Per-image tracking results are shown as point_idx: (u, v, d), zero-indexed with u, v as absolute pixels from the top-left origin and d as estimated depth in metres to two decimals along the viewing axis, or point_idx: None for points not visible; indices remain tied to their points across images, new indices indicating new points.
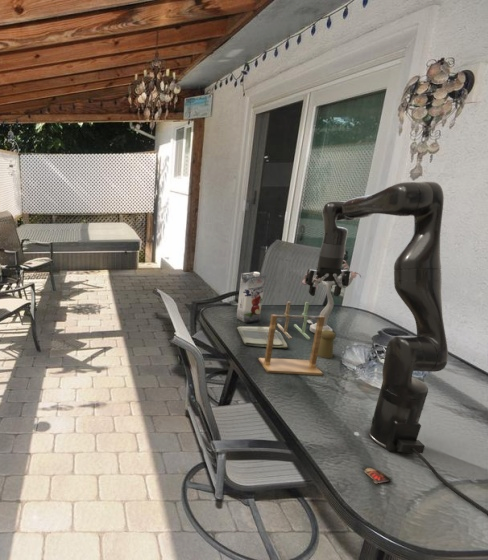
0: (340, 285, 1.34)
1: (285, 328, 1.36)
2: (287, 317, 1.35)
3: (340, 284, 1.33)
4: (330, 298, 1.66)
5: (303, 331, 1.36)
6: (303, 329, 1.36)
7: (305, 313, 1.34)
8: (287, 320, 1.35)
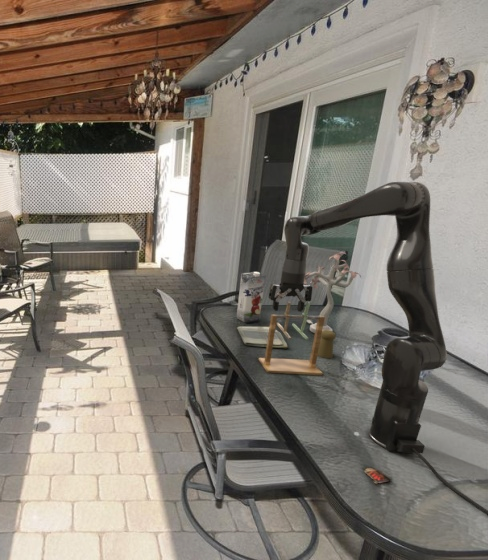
0: (303, 300, 1.32)
1: (285, 328, 1.37)
2: (287, 317, 1.35)
3: (303, 299, 1.32)
4: (330, 298, 1.66)
5: (301, 331, 1.36)
6: (302, 329, 1.36)
7: (305, 313, 1.34)
8: (287, 320, 1.35)
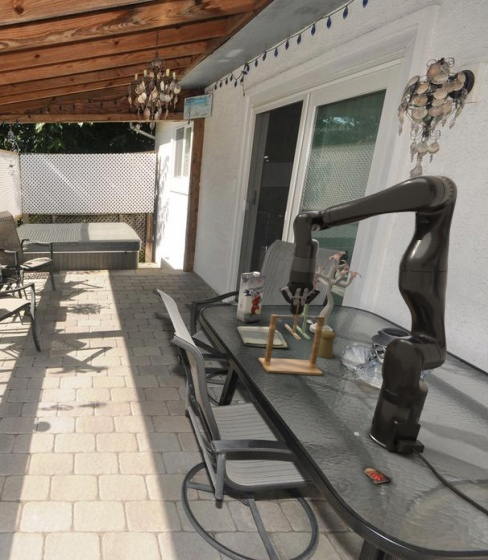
0: (302, 303, 1.26)
1: (294, 329, 1.30)
2: (296, 317, 1.28)
3: (303, 302, 1.26)
4: (330, 298, 1.66)
5: (303, 331, 1.36)
6: (303, 329, 1.36)
7: (305, 313, 1.34)
8: (296, 320, 1.28)
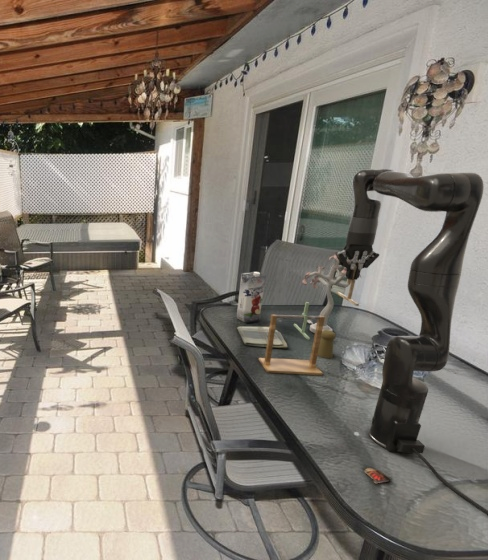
0: (360, 267, 1.22)
1: (349, 295, 1.25)
2: (352, 282, 1.24)
3: (361, 266, 1.22)
4: (330, 298, 1.66)
5: (303, 331, 1.36)
6: (303, 329, 1.36)
7: (305, 313, 1.34)
8: (352, 286, 1.24)
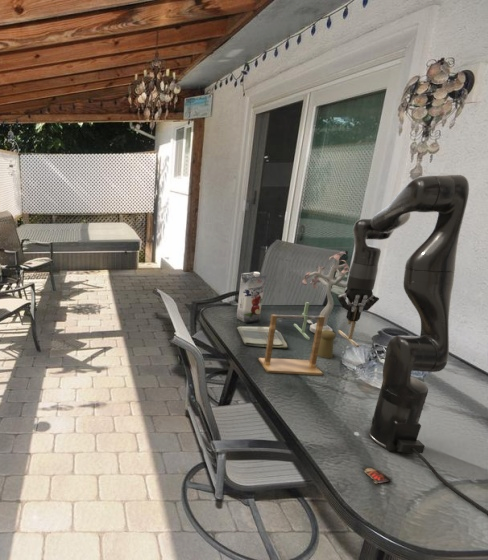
0: (360, 309, 1.27)
1: (350, 335, 1.30)
2: (353, 324, 1.28)
3: (361, 308, 1.26)
4: (330, 298, 1.66)
5: (303, 331, 1.36)
6: (303, 329, 1.36)
7: (305, 313, 1.34)
8: (353, 327, 1.29)
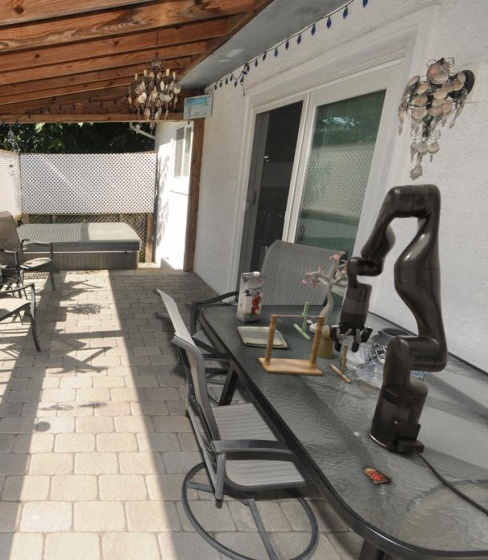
0: (358, 342, 1.30)
1: (342, 371, 1.34)
2: (344, 360, 1.33)
3: (359, 341, 1.30)
4: (330, 298, 1.66)
5: (303, 331, 1.36)
6: (303, 329, 1.36)
7: (305, 313, 1.34)
8: (344, 363, 1.33)
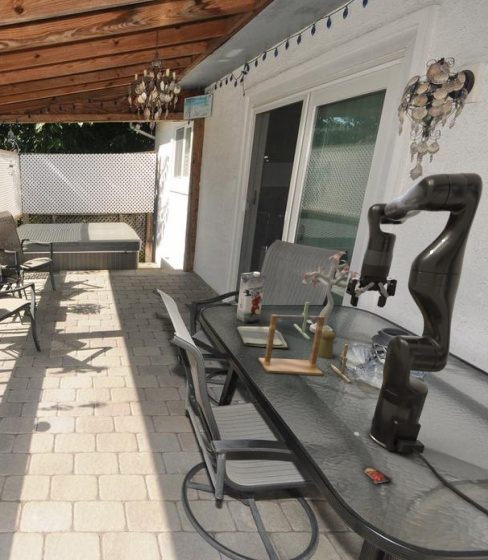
0: (386, 295, 1.22)
1: (342, 371, 1.34)
2: (344, 360, 1.33)
3: (386, 294, 1.22)
4: (330, 298, 1.66)
5: (303, 331, 1.36)
6: (303, 329, 1.36)
7: (305, 313, 1.34)
8: (344, 363, 1.33)
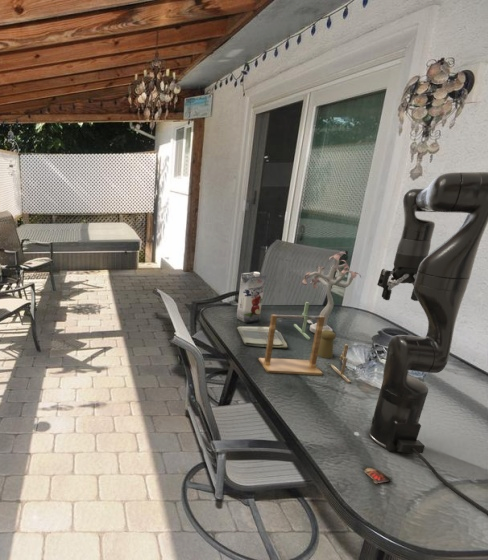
0: None
1: (342, 371, 1.34)
2: (344, 360, 1.33)
3: None
4: (330, 298, 1.66)
5: (303, 331, 1.36)
6: (303, 329, 1.36)
7: (305, 313, 1.34)
8: (344, 363, 1.33)
